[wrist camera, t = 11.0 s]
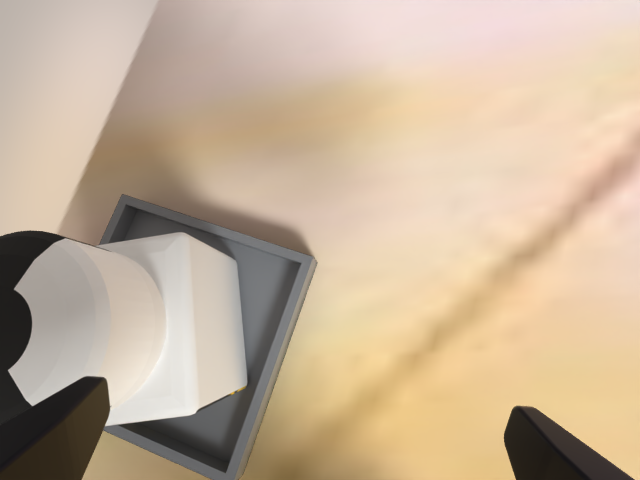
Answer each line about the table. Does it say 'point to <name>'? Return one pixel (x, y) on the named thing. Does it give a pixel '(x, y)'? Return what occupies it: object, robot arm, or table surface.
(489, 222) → the table surface
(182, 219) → the tray
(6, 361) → the medicine bottle
